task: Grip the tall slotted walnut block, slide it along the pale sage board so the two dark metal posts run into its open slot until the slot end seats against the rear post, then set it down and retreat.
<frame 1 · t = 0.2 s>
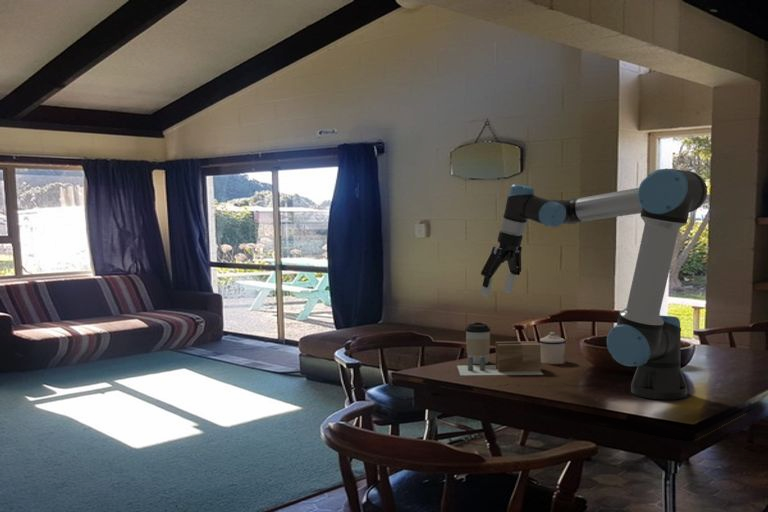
hand: (496, 294, 221), 27 cm above the table, tool tilted 20°, fingers open, 13 cm apart
board: (498, 373, 228), on the table
teacup with lid: (550, 364, 242), on the table
slotted block: (518, 369, 227), point 1 cm above the table, touching board
coffee cup: (478, 365, 242), on the table
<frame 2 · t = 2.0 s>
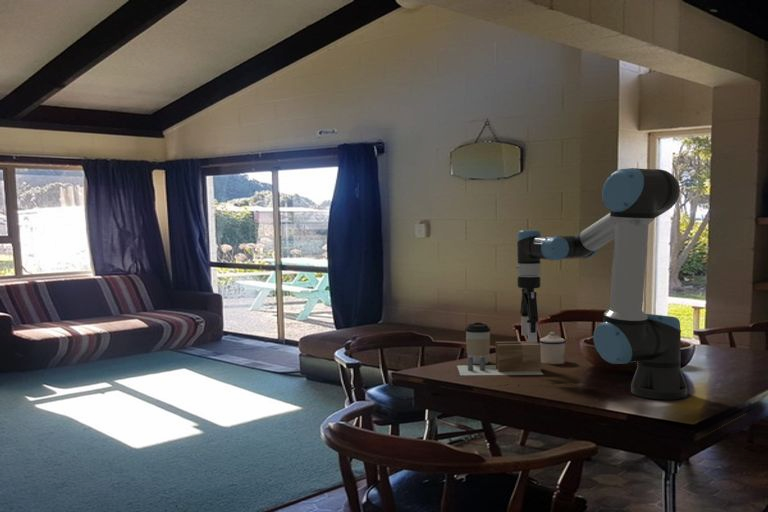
hand: (528, 338, 227), 12 cm above the table, tool pointing down, fingers open, 13 cm apart
nothing on the table moved.
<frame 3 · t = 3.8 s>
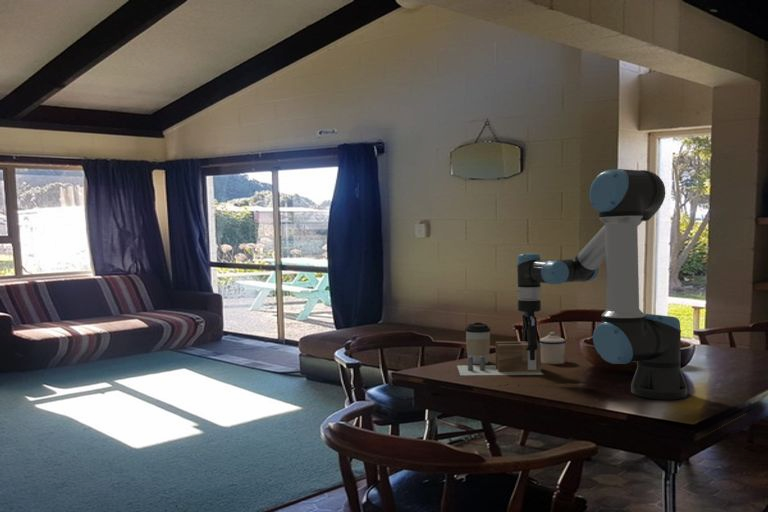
hand: (529, 367, 227), 2 cm above the table, tool pointing down, fingers closed on slotted block, 7 cm apart
slotted block: (518, 369, 227), point 1 cm above the table, touching board, gripper
everything else where it was.
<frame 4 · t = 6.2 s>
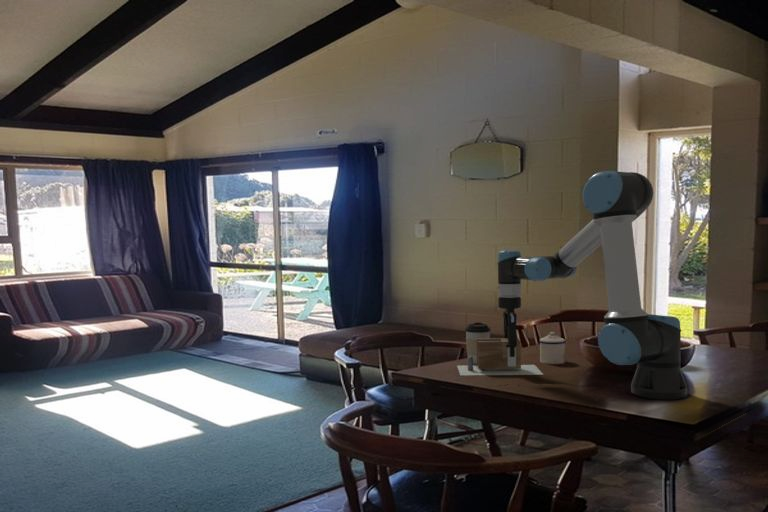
hand: (510, 363, 228), 3 cm above the table, tool pointing down, fingers closed on slotted block, 7 cm apart
slotted block: (498, 366, 228), point 2 cm above the table, touching gripper
everything else where it was.
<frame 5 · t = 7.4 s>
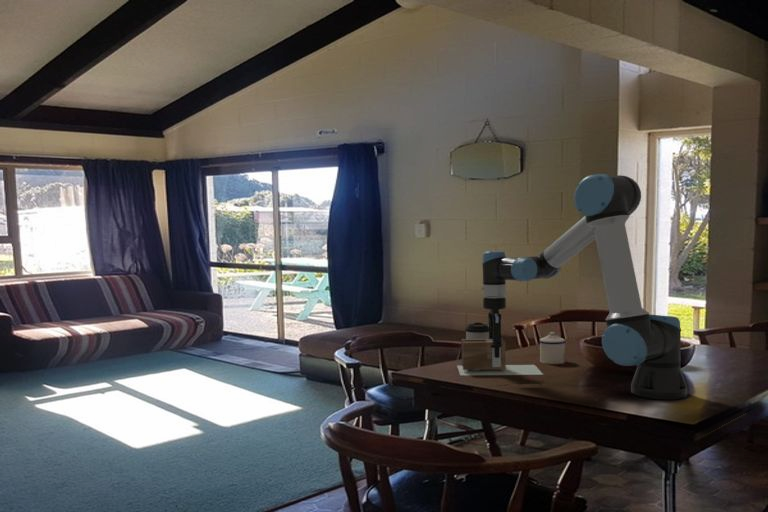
hand: (495, 364, 228), 3 cm above the table, tool pointing down, fingers closed on slotted block, 7 cm apart
slotted block: (483, 367, 228), point 2 cm above the table, touching gripper
everything else where it was.
when the fingers open (2 cm above the table, at t = 8.5 s): slotted block stays where it is, resting on board.
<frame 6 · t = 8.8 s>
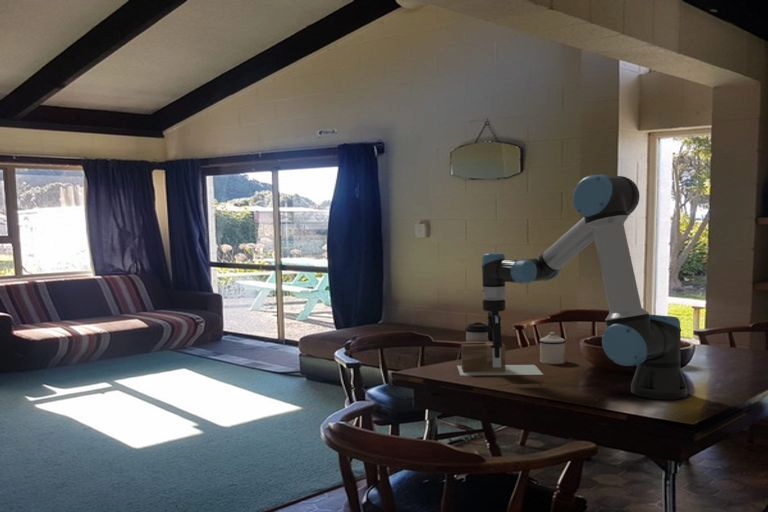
hand: (494, 363, 228), 3 cm above the table, tool pointing down, fingers open, 11 cm apart
slotted block: (483, 370, 228), point 1 cm above the table, touching board
everything else where it was.
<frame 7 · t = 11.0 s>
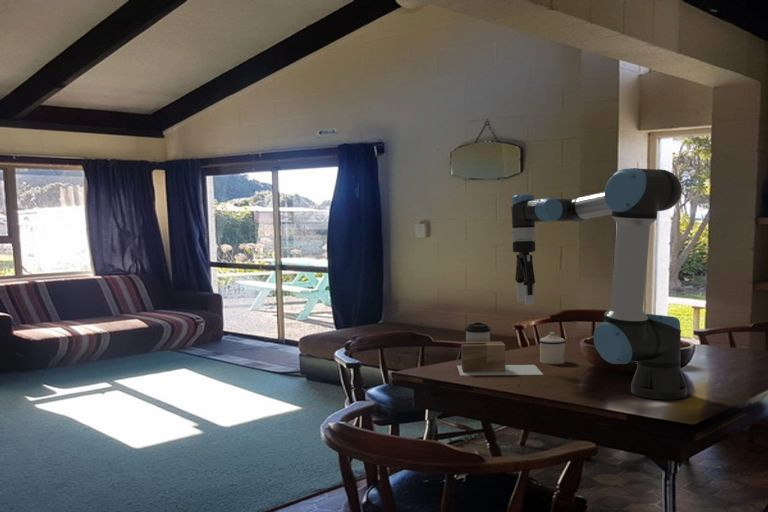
hand: (525, 303, 228), 23 cm above the table, tool pointing down, fingers open, 13 cm apart
nothing on the table moved.
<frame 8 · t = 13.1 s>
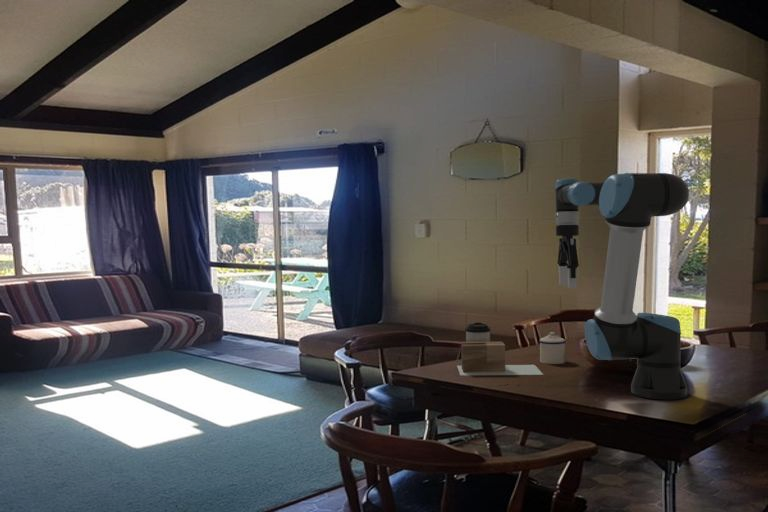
hand: (567, 286, 231), 29 cm above the table, tool pointing down, fingers open, 13 cm apart
nothing on the table moved.
at the end: slotted block 0.4 cm from the target spot on the board, point 1.2 cm above the board's base; slotted block tilted 0°; the gripper is holding nothing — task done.
